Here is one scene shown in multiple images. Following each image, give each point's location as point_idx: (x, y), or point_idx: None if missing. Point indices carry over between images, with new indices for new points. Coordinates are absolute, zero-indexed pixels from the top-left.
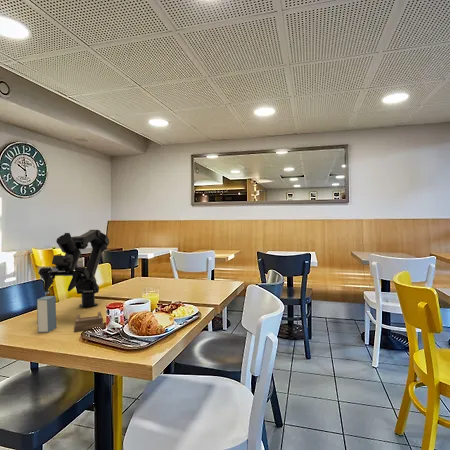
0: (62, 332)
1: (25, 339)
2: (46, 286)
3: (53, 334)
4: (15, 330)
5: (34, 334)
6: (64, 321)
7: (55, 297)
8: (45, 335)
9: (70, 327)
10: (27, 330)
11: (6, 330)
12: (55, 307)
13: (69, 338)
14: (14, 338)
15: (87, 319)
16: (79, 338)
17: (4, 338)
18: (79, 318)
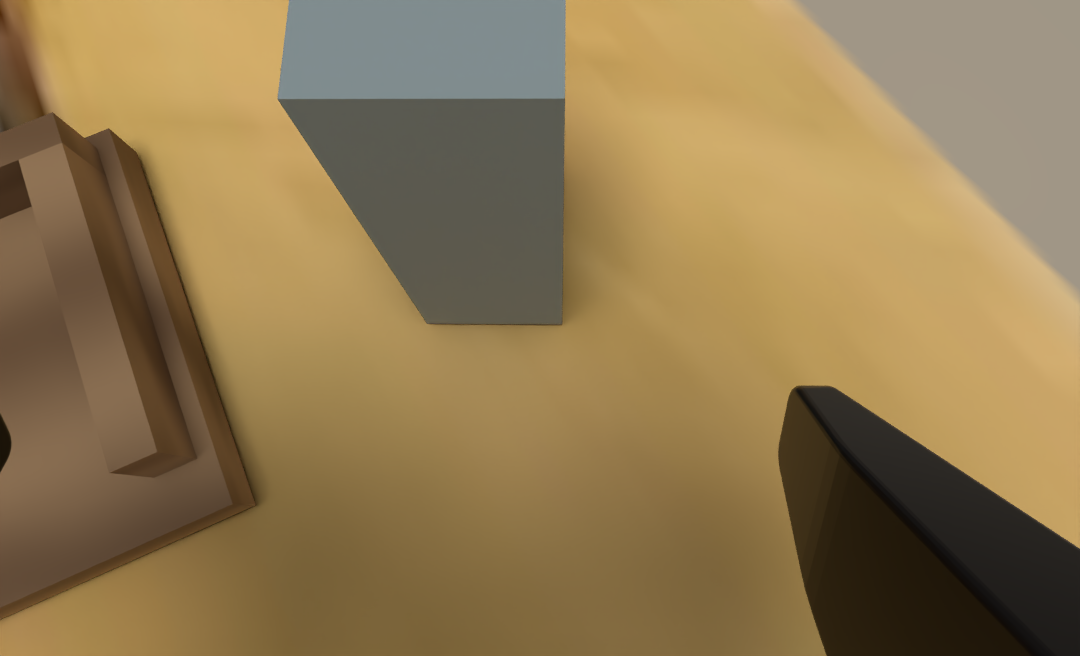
0: (281, 177)
1: (579, 7)
2: (856, 468)
3: None
4: (914, 274)
5: (575, 134)
6: (457, 609)
7: (289, 115)
8: None
9: (257, 339)
10: (755, 265)
11: (1036, 281)
12: (360, 211)
13: (133, 13)
14: (719, 36)
15: (36, 462)
16: (32, 10)
17: (832, 41)
18: (75, 319)
